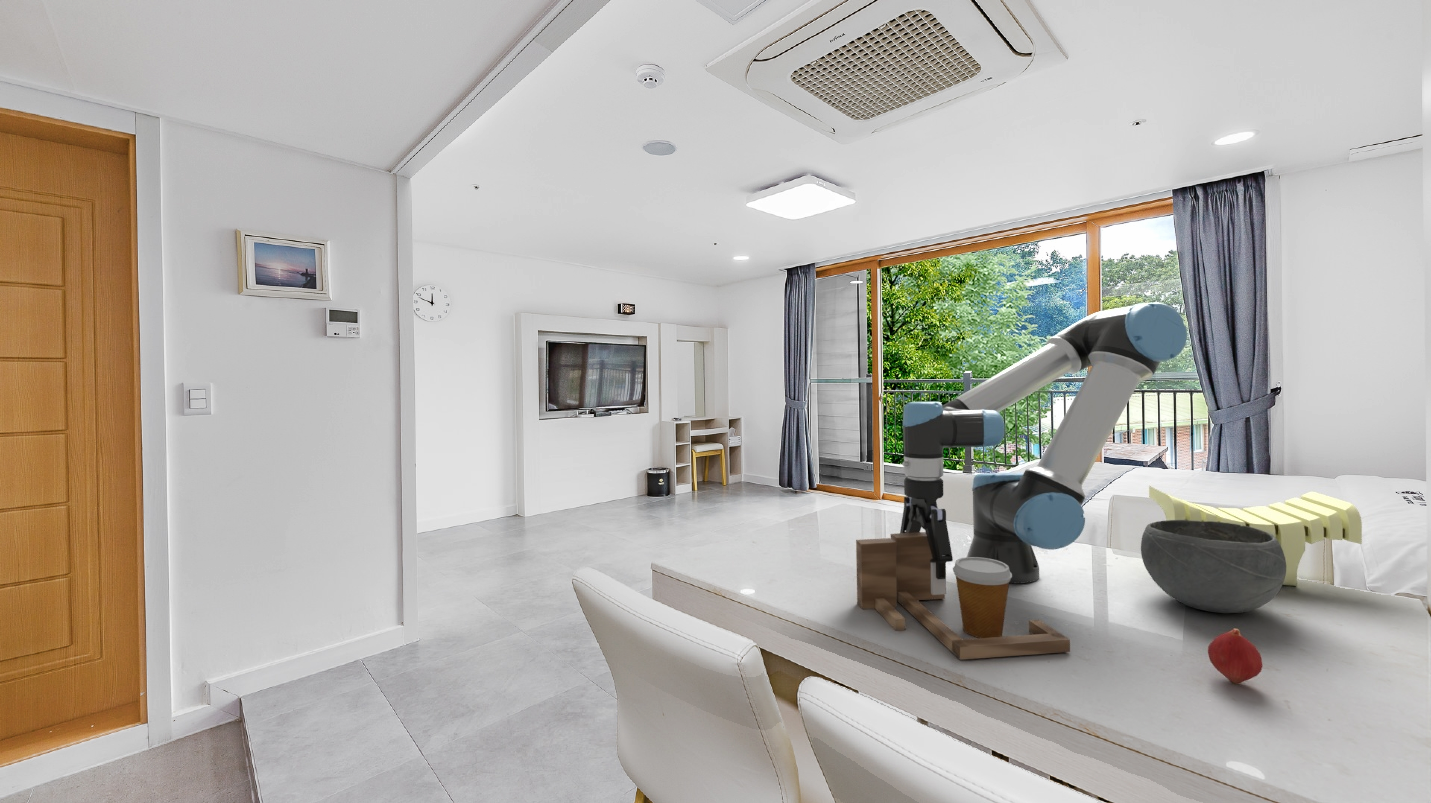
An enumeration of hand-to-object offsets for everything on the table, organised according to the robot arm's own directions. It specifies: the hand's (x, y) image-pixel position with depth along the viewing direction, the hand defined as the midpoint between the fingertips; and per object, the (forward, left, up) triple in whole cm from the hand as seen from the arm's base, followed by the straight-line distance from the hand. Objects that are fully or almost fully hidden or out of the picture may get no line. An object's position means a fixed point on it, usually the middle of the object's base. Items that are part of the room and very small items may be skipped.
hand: (924, 583), depth 116 cm
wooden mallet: (+11, +7, -3) cm, 13 cm away
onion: (-29, +37, -3) cm, 47 cm away
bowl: (-51, +12, -3) cm, 52 cm away
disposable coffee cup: (-3, +16, -3) cm, 17 cm away
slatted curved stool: (-74, -2, -3) cm, 74 cm away
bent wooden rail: (-3, +12, -3) cm, 13 cm away
